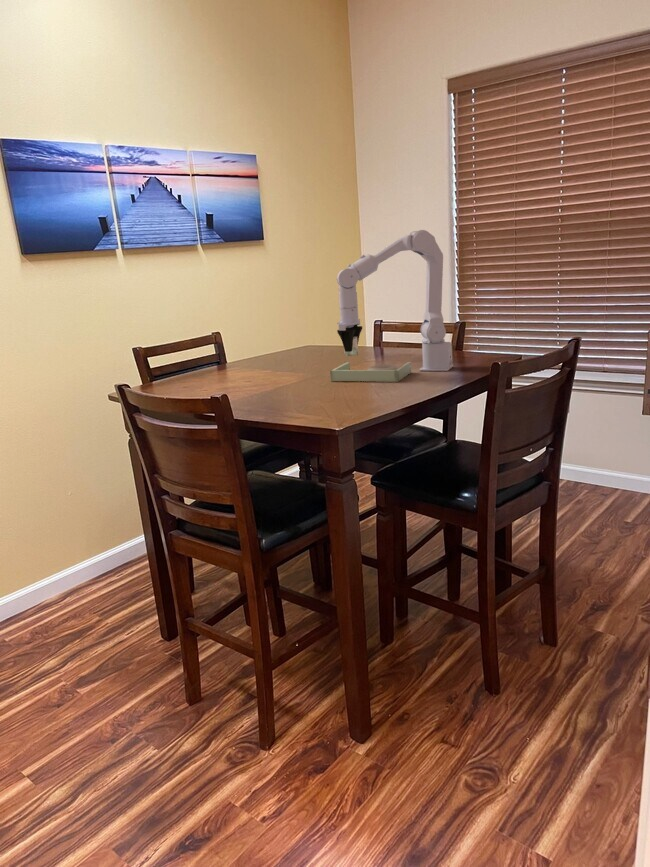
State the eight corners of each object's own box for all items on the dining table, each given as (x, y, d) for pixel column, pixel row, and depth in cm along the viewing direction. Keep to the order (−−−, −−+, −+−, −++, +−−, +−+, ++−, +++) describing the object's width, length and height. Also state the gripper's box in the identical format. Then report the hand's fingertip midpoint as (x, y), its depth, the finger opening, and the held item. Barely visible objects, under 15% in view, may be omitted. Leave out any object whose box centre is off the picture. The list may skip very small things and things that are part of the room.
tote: (411, 372, 210) (410, 362, 209) (398, 382, 197) (397, 370, 196) (347, 372, 219) (346, 362, 218) (331, 381, 206) (330, 370, 205)
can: (360, 353, 212) (359, 335, 210) (355, 356, 208) (354, 337, 206) (347, 353, 213) (346, 336, 212) (342, 356, 209) (341, 338, 208)
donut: (365, 375, 210) (370, 380, 200) (364, 365, 209) (370, 369, 199) (395, 373, 211) (402, 378, 201) (395, 362, 210) (402, 367, 200)
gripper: (345, 305, 214) (347, 346, 218) (328, 310, 202) (331, 354, 205) (365, 305, 212) (367, 346, 215) (349, 309, 199) (352, 353, 202)
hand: (351, 350), depth 210 cm, fingers closed on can, 4 cm apart
